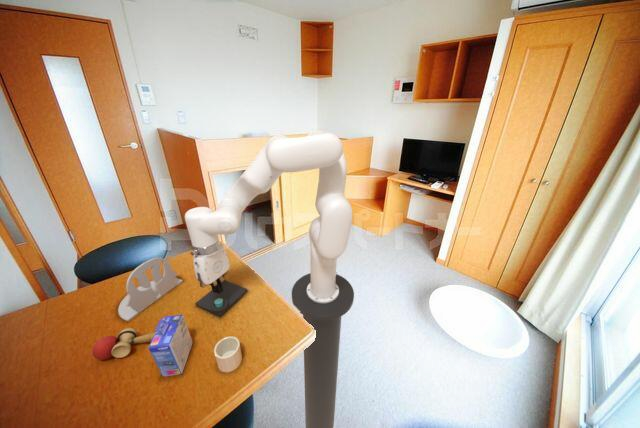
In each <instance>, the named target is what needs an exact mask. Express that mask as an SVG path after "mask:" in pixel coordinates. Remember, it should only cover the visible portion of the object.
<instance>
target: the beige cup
mask: <svg viewBox="0 0 640 428" xmlns="http://www.w3.org/2000/svg"><path fill="white" fill-rule="evenodd" d="M213 355H214V358H215V362H216V365H217V369H218V370H219V371H220V372H221V373H231V372H233V371H235V370H236V369H237V368H239V367H240V365H241V363H242V362H243V361H242V360H243V354H242V349H241V343H240V340H239V339H238V337H235V336H233V335H232V336H229V335H228V336H226V337H222V339H220V340H218V341H217V343H216V344H215V346H214V348H213Z"/></svg>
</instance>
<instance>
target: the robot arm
mask: <svg viewBox="0 0 640 428" xmlns="http://www.w3.org/2000/svg"><path fill="white" fill-rule="evenodd" d="M343 145H344V144H343V143H342V141H341V139H340V137H339V136H337V135H336V134H334V133H333V132H330V131H328V130H326V129H323V128H315V129H312V130H311V131H309V132H308V134H307V135H306V136H299V137H298V136H297V137H289V136H287V135H285V134H275V135H273V136H272V137H270V138H269V139H268V141H267V142H265V144H264V145H263V147H262V148H261V150H260V151H259V152H258V154H257V155H256V156H255V158H254V159H253V160H252V161H251V163H249V165H248V166H247V168H246V169H245V170H244V172H243V173H242V174H240V176H239V178H238V179H237V180H236V182H234V183H233V185H232V186H231V187H230V189H229V190H228V191H227V193H225V195H224V196H223V197H222V199H221V200H220V202H219V203H218V205H217V207H216V210H215V211H213V210H212V209H211V208H210V207H207V206H197V207H194V208H190V209H188V210H187V211H186V212H185V213H184V221H185V225H186V228H187V231H188V236H189V239H190V242H191V246H192V250H191V251H190V255H191V256H192V258H193V259H192V260H193V269H194V270H193V271H194V275H195V278H196V280H197V282H199V287H200V288H202V289H204V288H206V287H208V286H210V287H211V290H212V291H213V292H214V293H218V294H220V293H221V292H223V286H222V282H223V281H224V277H223V276H224V275H223V274H226V273H227V272H228V271H229V270H230V268H231V266H230V265H231V264H230V261H229V257H228V253H227V251H226V249H225V247H224V245H223V244H222V243H221V242H220V239H219V235H225V236H228V235H232V234H235V233H237V231H238V230H239V229H240V226H241V220H242V215H243V214H242V213H243V212H244V211H245V209H246V208H247V207H248V206H249V204H250V203H251V202H252V201H253V200H254V199H255V198H256V197H257V196H259V195H262V194H266V193H267V192H269V191H270V190H271V188H272V187H273V186H274V184H275V183H276V182H277V180H279V178H280V177H281V176H282V174H284V173H286V174H287V173H297V172H304V171H309V170H310V171H311V170H317V169H318V183H317V189H316V196H315V203H314V206H315V209H316V212H317V213H318V215H319V216H317V217H315V218H314V219H312V221H311V222H310V225H309V228H308V236H309V237H308V239H309V247H310V273H311V283H310V284H309V285H308V286H307V295H308V297H309V298H310V299H311V300H312V301H314V302H317V303H330V302H332V301H334V300H335V299H336V298H337V297H338V295H339V288H338V286H337V284H336V283H335V281H336V275H337V274H338V273H337V260H338V258H340V257H341V256H342V255H343V254H344V253H345V251H346V249H347V247H348V242H349V239H350V233H351V228H352V224H353V219H354V218H353V216H354V214H353V207H352V205H351V203H350V202H349V201H348V200H347V198H346V197H345V189H346V183H347V175H348V174H347V173H348V165H347V159H346V155H345V153H344V146H343Z"/></svg>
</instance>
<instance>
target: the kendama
mask: <svg viewBox="0 0 640 428" xmlns="http://www.w3.org/2000/svg"><path fill="white" fill-rule="evenodd" d="M156 332H157V331H154V332H150V333H146V334H142V335H138V334H139V332H138V330H137V329H135V328H133V327H128V328H127V327H126V328H124V329H122V330H121V331H120V332H119V333H118V335H117V336H116V335H115V336H114V335H107V336H104V337H102V338H100V339H98V340H97V341H96V342H95V343H94V345H93V347H92V350H91V351H92V356H93V358H94V359H96V360H99V361H105V360H108V359H111V358H112V357H114V358H116V359H117V358H118V359H121V358H125V357H127V356H128V355H130V352H131V351H132V345H133V344H142V343H143V344H144V343H151V341H152V339H153V338H154V336H155V334H156Z"/></svg>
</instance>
